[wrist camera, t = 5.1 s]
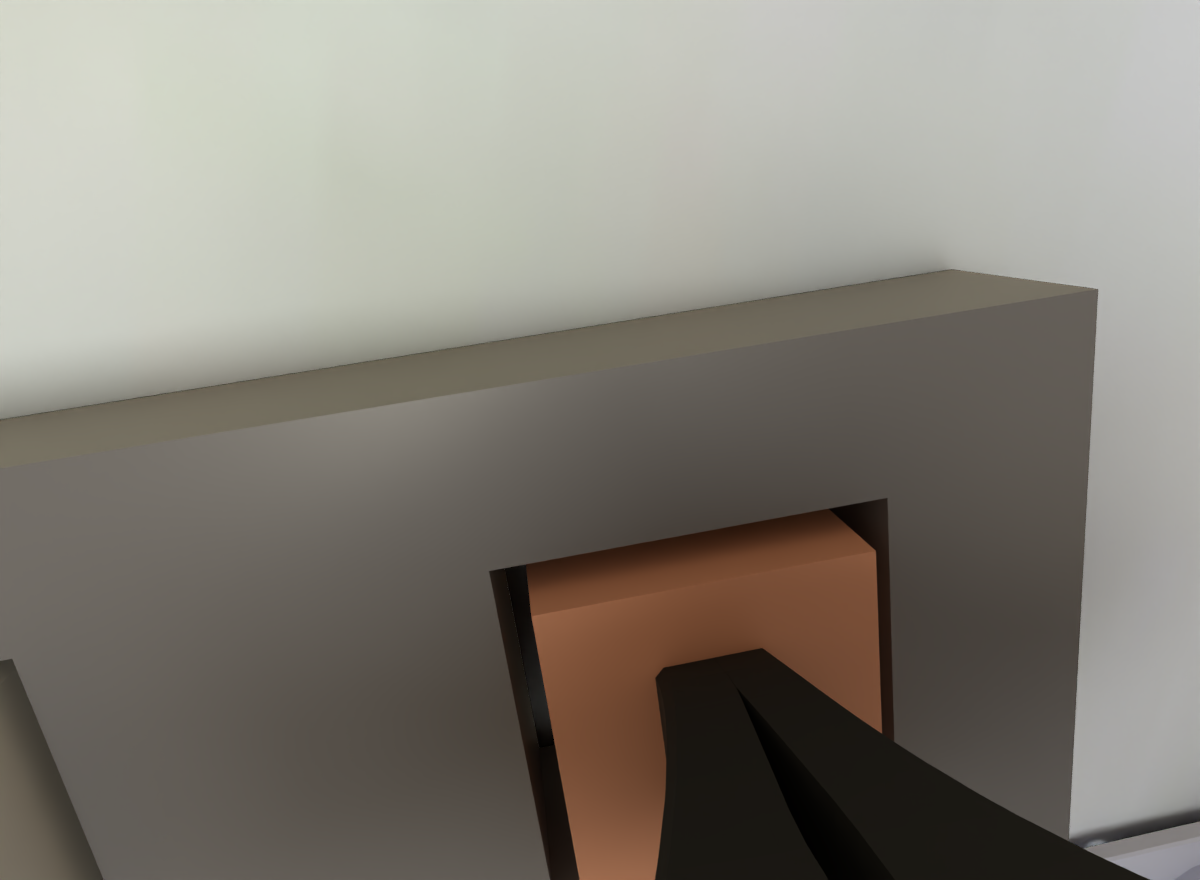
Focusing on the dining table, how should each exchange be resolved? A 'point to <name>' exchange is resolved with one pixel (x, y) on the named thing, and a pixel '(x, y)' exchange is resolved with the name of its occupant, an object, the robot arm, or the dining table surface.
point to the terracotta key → (687, 654)
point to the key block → (522, 536)
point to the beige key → (35, 798)
